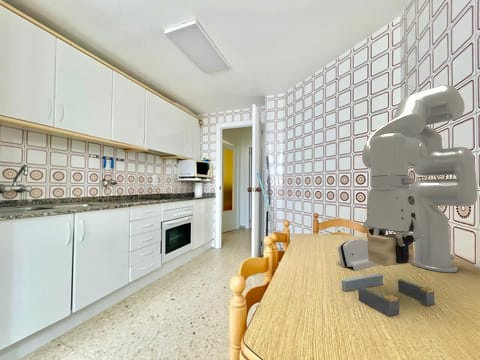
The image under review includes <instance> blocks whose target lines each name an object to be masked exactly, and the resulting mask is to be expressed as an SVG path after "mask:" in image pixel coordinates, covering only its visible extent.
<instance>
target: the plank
mask: <svg viewBox="0 0 480 360" xmlns="http://www.w3.org/2000/svg"><path fill="white" fill-rule="evenodd" d="M381 285H384V275H382V274H380V273H376V274H370V275H364V276H356V277H351V278H345V279H341V290H342V291H344V292H350V291H355V290H358V287H364V288H366V289H368V288H372V287H377V286H378V287H379V286H381Z"/></svg>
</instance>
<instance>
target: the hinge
mask: <svg viewBox="0 0 480 360" xmlns="http://www.w3.org/2000/svg"><path fill="white" fill-rule="evenodd" d="M337 252H338V256H339V261H340V265H341V267H342V268H345V267H349V268H350V267H352V268H353V271H354V272H358V271H361V270H362V271H363V270H366V269H370V268H372V267H376V266H380V265H379V264H376V263H373V262H370V261H368V240H366V239H359V238H358V239H357V238H355V239H349V240H346V241H344V242H342V243H340V244H339V245H338V246H337Z"/></svg>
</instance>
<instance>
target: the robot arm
mask: <svg viewBox="0 0 480 360" xmlns="http://www.w3.org/2000/svg"><path fill="white" fill-rule="evenodd" d="M465 107H466V106H465V101H464V98H463V97H462V95H461V93H460V91H459V90H458V89H457V88H456V87H455V86H453V85H449V84H444V85H443V84H442V85H439V86H435V87H431V88H428V89H425V90H423V91H417V92H415V93H412V94H409V95H407V96H406V97H403V98H402V99H401V100H400V101H399V103H398V105H397V107H396V111H395V113H394V115H393V117H392V120H389V121H388V122H386V123H385V124H384V125H382V126H381V127H380V128H377V130H374V132H373V133H372V134H370V135H369V136H368V138H367V140H366V143H365V145H364V147H363V150H362V154H361V158H362V159H361V160H362V163H363V165H364V166H365V167H366V168H367V169H370V185H371V186H370V188H371V189H369V191H368V195H367V203H366V220H365V222H364V223H363V225H362V227H363V228H364V229H365V231H368V233H369V235H370V236H371V235H387V232H388V231H389V232H394V233H395V234H396V237H397V241H398V245H396V262H397V263H399V265H404V264H403V263H406V264H409V263H408V260H409V246H410V245H411V244H412V243H413V246H414V263H410V264H411V265H413V266H415V267H417V268H421V269H425V270H430V271H433V272H440V273H456V272H458V267H457V266H456V265H454V264H452V261H453V260H455V259H456V257H455V256H454V255H453V254H451V246H450V245H451V244H450V242H451V241H450V240H451V239H450V227H449V225H450V223H449V218H448V216H447V215H446V214H445V212H443V211H442V210H441V209H440V208H439V207H440V206H441V207H443V206H444V207H446V206H447V207H471V206H474V205H475V204H476V203H477V201H478V185H477V184H478V183H477V172H476V162H475V157H474V153H473V151H472V150H471V149H470V148H468V147H464V146H457V147H455V146H454V147H448V148H443V137H442V135H441V133H439V132H438V131H436V130H435V129H434V128H432V127H430V126H429V125H436V124H440V123H445V122H451V121H454V120H455V121H456V120H457V119H460V117H462V116H463V114H464V112H465ZM409 167H410V168H411V167H412V169H413V172H414V174H416V175H417V176H420V177H421V176H423V177H432V176H433V177H435V176H454V177H456V178H435V179H433V178H431V179H420V180H419V179H418V180H416V181H415V179H414V178H413V177H411V178H410V176H409ZM438 206H439V207H438ZM410 233H411V234H410Z"/></svg>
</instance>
